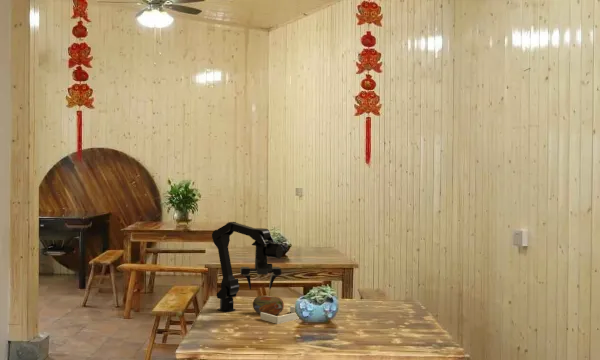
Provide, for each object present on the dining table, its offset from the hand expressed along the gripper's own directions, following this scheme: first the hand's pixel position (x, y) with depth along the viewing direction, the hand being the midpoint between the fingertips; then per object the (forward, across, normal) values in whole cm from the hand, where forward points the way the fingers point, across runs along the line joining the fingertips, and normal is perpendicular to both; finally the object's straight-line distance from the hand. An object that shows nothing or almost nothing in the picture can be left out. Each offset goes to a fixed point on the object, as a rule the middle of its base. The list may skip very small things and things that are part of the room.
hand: (260, 289), depth 270 cm
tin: (+13, +5, +5) cm, 15 cm away
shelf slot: (+12, +11, -4) cm, 17 cm away
